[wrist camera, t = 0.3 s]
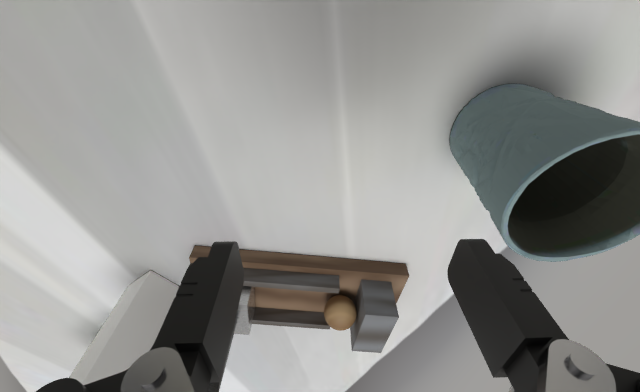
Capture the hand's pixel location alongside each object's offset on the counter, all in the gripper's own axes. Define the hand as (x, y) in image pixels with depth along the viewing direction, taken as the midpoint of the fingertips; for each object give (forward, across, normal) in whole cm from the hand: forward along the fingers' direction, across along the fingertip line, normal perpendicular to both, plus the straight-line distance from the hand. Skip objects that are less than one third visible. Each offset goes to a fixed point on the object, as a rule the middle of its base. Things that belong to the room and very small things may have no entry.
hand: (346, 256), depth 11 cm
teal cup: (+18, -16, +2) cm, 25 cm away
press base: (+19, +4, +27) cm, 33 cm away
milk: (+20, +25, +28) cm, 43 cm away
